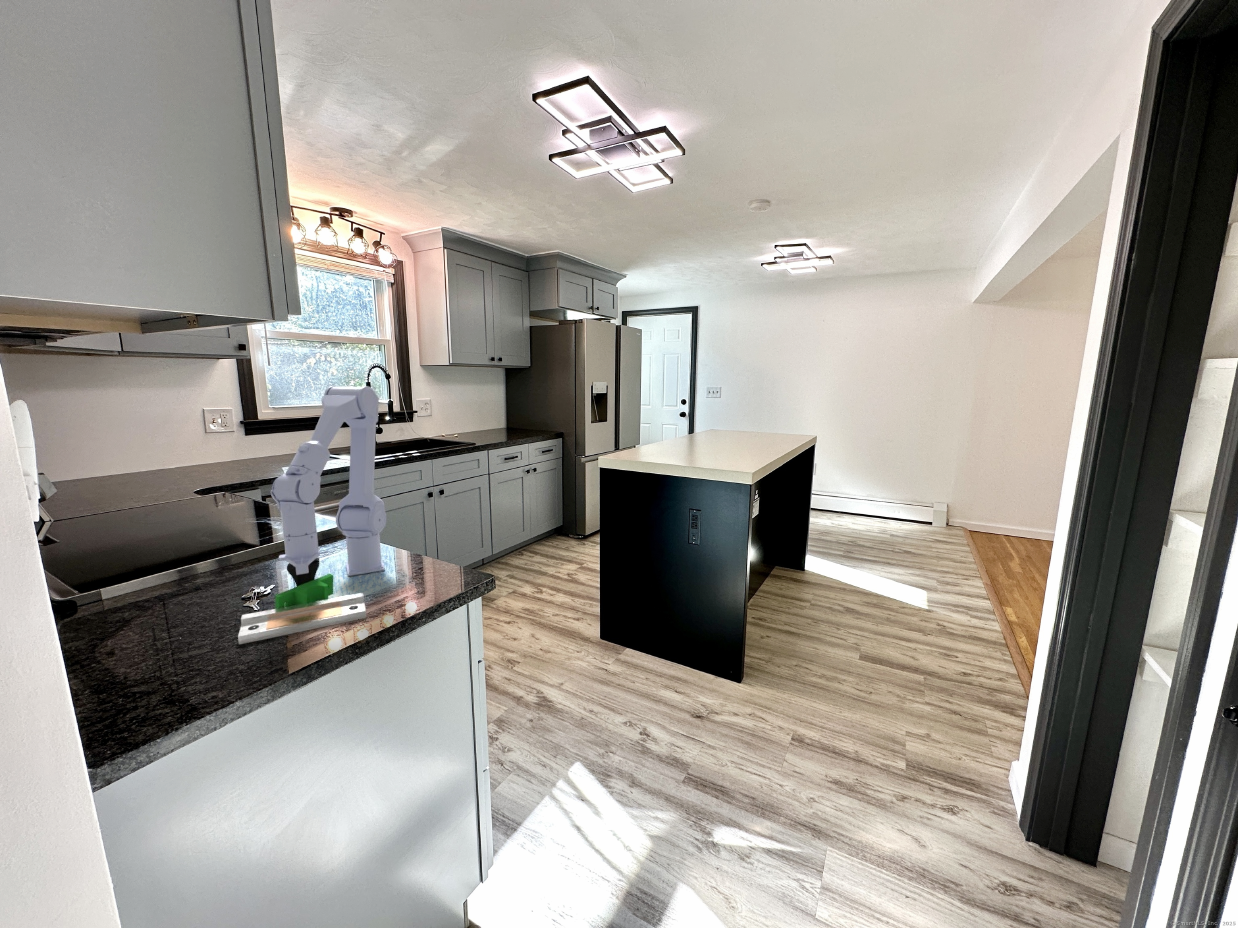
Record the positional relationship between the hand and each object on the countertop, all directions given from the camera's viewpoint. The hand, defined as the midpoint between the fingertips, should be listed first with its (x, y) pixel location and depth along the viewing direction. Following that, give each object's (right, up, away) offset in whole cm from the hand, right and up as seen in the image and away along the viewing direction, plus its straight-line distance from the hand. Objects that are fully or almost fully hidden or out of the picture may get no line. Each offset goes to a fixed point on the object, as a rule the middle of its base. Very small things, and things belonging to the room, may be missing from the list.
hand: (306, 595), depth 104 cm
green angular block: (+2, -2, -3) cm, 4 cm away
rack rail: (+5, -3, -8) cm, 10 cm away
